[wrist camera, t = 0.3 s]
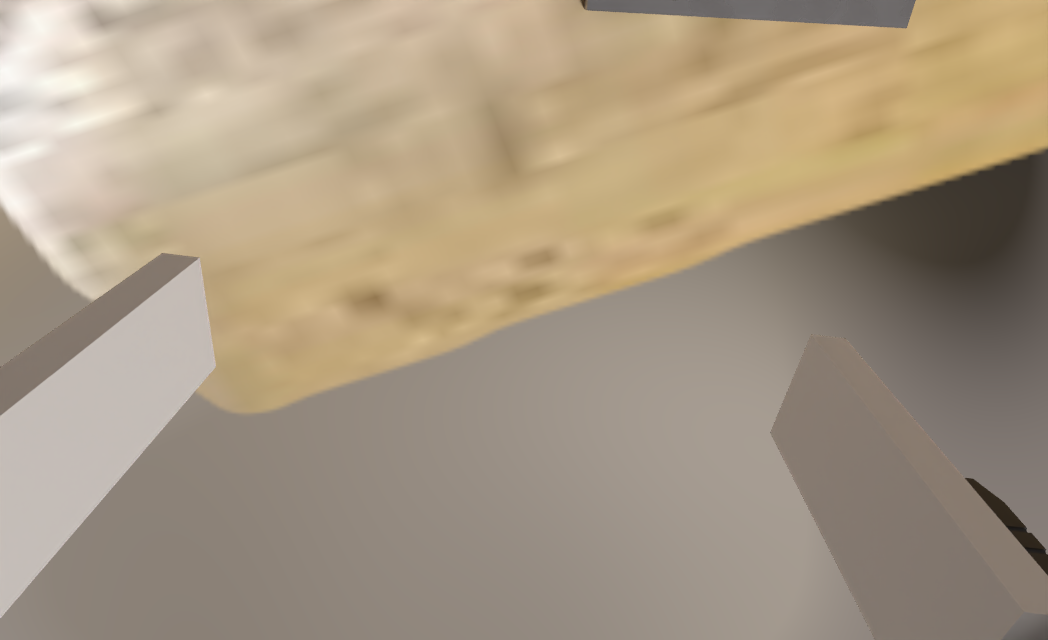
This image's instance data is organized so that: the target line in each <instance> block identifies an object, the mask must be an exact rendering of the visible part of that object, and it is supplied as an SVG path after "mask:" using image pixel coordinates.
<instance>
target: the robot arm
mask: <svg viewBox="0 0 1048 640" xmlns="http://www.w3.org/2000/svg"><path fill="white" fill-rule="evenodd" d="M215 367H216V365H215V358H214V351H213V345H212V338H211V331H210V324H209V318H208V311H207V304H206V297H205V291H204V284H203V277H202V271H201V264H200V258H198V257H190V256H182V255H174V254H166V253H162V254H160V255H159V256H158V257H156V258H155V259H153V260H152V261H150V262H149V263H148V264H146V265H145V266H143V267H142V268H140V269H139V270H138V271H136V272H135V273H133V274H132V275H131V276H129V277H128V278H126V279H125V280H123V281H122V282H121V283H119V284H118V285H116V286H115V287H114V288H112V289H111V290H109V291H108V292H106V293H105V294H104V295H102V296H101V297H99V298H98V299H96V300H95V301H94V302H92V303H91V304H89V305H88V306H87V307H85V308H84V309H82V310H81V311H79V312H78V313H77V314H75V315H74V316H72V317H71V318H70V319H68V320H67V321H65V322H64V323H62V324H61V325H60V326H58V327H57V328H55V329H54V330H52V331H51V332H50V333H48V334H47V335H46V336H44V337H43V338H41V339H40V340H38V341H37V342H35V343H34V344H33V345H31V346H30V347H28V348H27V349H26V350H24V351H23V352H21V353H20V354H19V355H17V356H16V357H14V358H13V359H11V360H10V361H9V362H7V363H6V364H4V365H3V366H1V367H0V618H1V616H3V614H4V613H5V612H6V611H7V610H8V609H9V607H10V606H11V605H12V604H13V603H14V602H15V600H16V599H17V598H18V597H19V596H20V595H21V593H22V592H23V591H24V590H25V589H26V588H27V586H28V585H29V584H30V583H31V582H32V581H33V579H34V578H35V577H36V576H37V575H38V574H39V572H40V571H41V570H42V569H43V568H44V567H45V565H46V564H47V563H48V562H49V561H50V559H51V558H52V557H53V556H54V555H55V554H56V553H57V551H58V550H59V549H60V548H61V547H62V546H63V544H64V543H65V542H66V541H67V540H68V539H69V537H70V536H71V535H72V534H73V533H74V532H75V530H76V529H77V528H78V527H79V526H80V525H81V523H82V522H83V521H84V520H85V519H86V518H87V516H88V515H89V514H90V513H91V512H92V511H93V509H94V508H95V507H96V506H97V505H98V503H99V502H100V501H101V500H102V499H103V498H104V496H105V495H106V494H107V493H108V492H109V491H110V489H111V488H112V487H113V486H114V484H116V483H117V481H118V480H119V479H120V478H121V477H122V476H123V474H124V473H125V472H126V471H127V470H128V469H129V467H130V466H131V465H132V464H133V463H134V462H135V460H136V459H137V458H138V457H139V456H140V455H141V453H142V452H143V451H144V450H145V449H146V448H147V446H148V445H149V444H150V443H151V442H152V441H153V439H154V438H155V437H156V436H157V435H158V434H159V432H160V431H161V430H162V429H163V428H164V426H165V425H166V424H167V423H168V422H169V421H170V420H171V418H172V417H173V416H174V415H175V414H176V413H177V411H178V410H179V409H180V408H181V407H182V406H183V404H184V403H185V402H186V400H188V399H189V397H190V396H191V395H192V394H193V393H194V392H195V390H196V389H197V388H198V387H199V386H200V385H201V383H202V382H203V381H204V380H205V379H206V378H207V376H208V375H209V374H210V373H211V372H212V371H213V369H214V368H215ZM770 433H771V435H772V437H773V439H774V441H775V443H776V445H777V447H778V449H779V451H780V453H781V455H782V457H783V459H784V461H785V463H786V465H787V467H788V469H789V471H790V473H791V475H792V477H793V479H794V481H795V483H796V485H797V487H798V489H799V490H800V493H801V495H802V497H803V499H804V501H805V503H806V505H807V507H808V509H809V510H810V512H811V514H812V516H813V518H814V520H815V522H816V524H817V526H818V528H819V530H820V532H821V534H822V536H823V538H824V540H825V542H826V544H827V546H828V548H829V550H830V552H831V554H832V556H833V558H834V560H835V562H836V564H837V566H838V568H839V570H840V572H841V574H842V576H843V578H844V580H845V581H846V583H847V586H848V588H849V590H850V591H851V593H852V595H853V597H854V599H855V601H856V603H857V605H858V607H859V609H860V611H861V613H862V615H863V617H864V619H865V621H866V623H867V625H868V627H869V629H870V631H871V633H872V635H873V637H874V639H875V640H1048V555H1047V554H1046V552H1045V551H1046V549H1045V548H1044V547H1043V546H1042V544H1041V543H1040V542H1039V541H1038V540H1037V539H1036V538H1035V537H1034V536H1033V534H1032V533H1027V531H1026V529H1027V528H1026V526H1025V525H1024V524H1023V523H1022V522H1021V521H1020V520H1019V519H1018V517H1017V516H1016V515H1015V514H1014V513H1013V512H1012V511H1011V510H1010V508H1009V507H1008V506H1007V505H1006V504H1005V503H1004V502H1003V501H1002V500H1000V499H999V498H998V497H996V496H995V495H994V494H992V493H991V492H990V491H988V490H987V489H986V488H984V487H983V486H982V485H980V484H979V483H978V482H977V481H975V480H974V479H970V478H964V477H963V476H962V475H961V473H960V472H959V471H958V470H957V469H956V468H955V466H954V465H953V464H952V463H951V462H950V460H949V459H948V458H947V457H946V456H945V455H944V453H943V452H942V451H941V450H940V449H939V448H938V446H937V445H936V444H935V443H934V442H933V441H932V439H931V438H930V437H929V436H928V435H927V433H926V432H925V431H924V430H923V429H922V428H921V426H920V425H919V424H918V423H917V422H916V421H915V419H914V418H913V417H912V416H911V415H910V414H909V412H908V411H907V410H906V409H905V408H904V407H903V405H902V404H901V403H900V402H899V401H898V400H897V398H896V397H895V396H894V395H893V394H892V392H891V391H890V390H889V389H888V388H887V387H886V385H885V384H884V383H883V382H882V381H881V380H880V378H879V377H878V376H877V375H876V374H875V373H874V371H873V370H872V369H871V368H870V367H869V366H868V364H867V363H866V362H865V361H864V360H863V359H862V357H861V356H860V355H859V354H858V353H857V351H856V350H855V349H854V348H853V347H852V346H851V344H850V343H849V342H848V341H847V340H846V339H845V338H837V337H828V336H821V335H813V334H811V336H810V338H809V341H808V343H807V345H806V348H805V350H804V353H803V355H802V357H801V360H800V362H799V365H798V367H797V369H796V372H795V374H794V377H793V379H792V381H791V384H790V386H789V389H788V391H787V393H786V396H785V399H784V401H783V403H782V406H781V408H780V410H779V413H778V415H777V417H776V420H775V422H774V425H773V427H772V430H771V432H770Z"/></svg>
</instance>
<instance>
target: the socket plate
mask: <svg viewBox="0 0 1048 640" xmlns="http://www.w3.org/2000/svg"><path fill="white" fill-rule="evenodd" d="M915 1H916V0H585V4H584V9H585V10H592V11H610V12H628V13H645V14H663V15H681V16H699V17H716V18H734V19H752V20H770V21H787V22H805V23H823V24H841V25H858V26H876V27H894V28H907V26H908V22H909V19H910V16H911V13H912V10H913V7H914V4H915Z"/></svg>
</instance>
